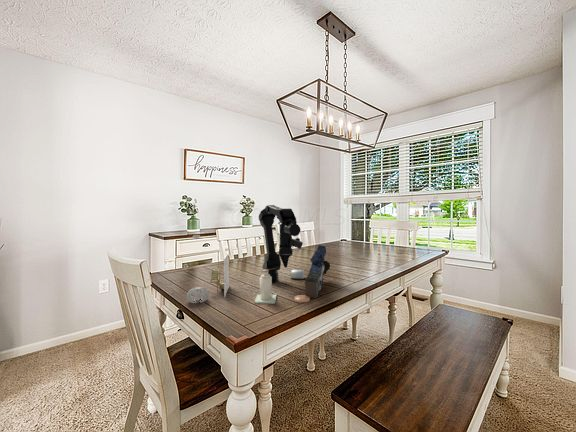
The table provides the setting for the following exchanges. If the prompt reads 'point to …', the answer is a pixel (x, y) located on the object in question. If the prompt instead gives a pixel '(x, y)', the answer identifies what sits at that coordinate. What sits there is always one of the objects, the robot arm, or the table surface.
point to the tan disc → (302, 298)
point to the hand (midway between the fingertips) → (285, 265)
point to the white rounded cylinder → (297, 274)
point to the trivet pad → (260, 301)
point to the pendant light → (197, 289)
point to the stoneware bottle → (265, 285)
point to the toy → (316, 272)
